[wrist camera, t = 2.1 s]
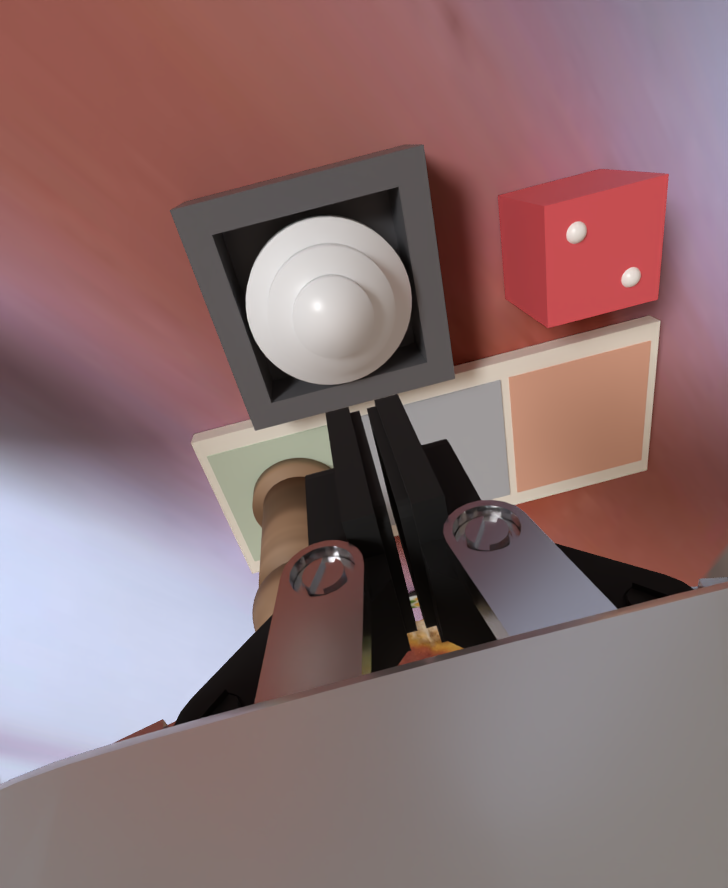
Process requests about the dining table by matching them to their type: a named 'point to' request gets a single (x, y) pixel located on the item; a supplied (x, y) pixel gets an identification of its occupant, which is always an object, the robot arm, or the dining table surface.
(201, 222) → the dome housing
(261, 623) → the wooden pepper mill
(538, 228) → the die
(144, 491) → the dining table surface
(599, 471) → the board
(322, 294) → the dome
